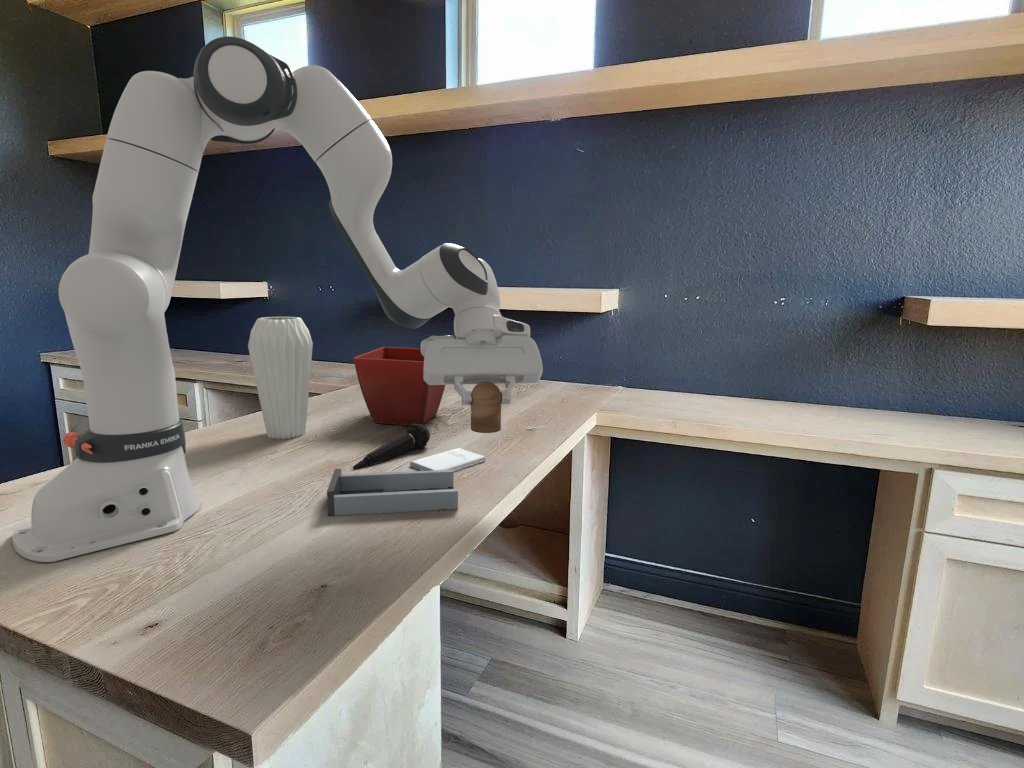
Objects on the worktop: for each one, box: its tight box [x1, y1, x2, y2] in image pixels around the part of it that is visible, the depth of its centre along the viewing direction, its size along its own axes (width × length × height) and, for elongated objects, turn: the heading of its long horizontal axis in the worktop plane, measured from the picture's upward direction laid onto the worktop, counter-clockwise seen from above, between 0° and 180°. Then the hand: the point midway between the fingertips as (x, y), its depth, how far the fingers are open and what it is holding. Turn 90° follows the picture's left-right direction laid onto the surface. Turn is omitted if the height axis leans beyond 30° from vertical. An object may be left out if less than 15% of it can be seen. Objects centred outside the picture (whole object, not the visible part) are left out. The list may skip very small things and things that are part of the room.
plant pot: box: [353, 346, 446, 426], centre depth 142 cm, size 19×19×17 cm
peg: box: [470, 381, 502, 434], centre depth 93 cm, size 5×5×8 cm
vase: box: [247, 316, 314, 440], centre depth 126 cm, size 13×13×26 cm
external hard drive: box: [409, 447, 486, 472], centre depth 112 cm, size 2×8×12 cm
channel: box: [326, 468, 459, 517], centre depth 93 cm, size 20×10×4 cm, turn 100°
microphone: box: [352, 423, 431, 470], centre depth 115 cm, size 6×6×20 cm
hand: (486, 402), depth 93 cm, fingers closed on peg, 5 cm apart
